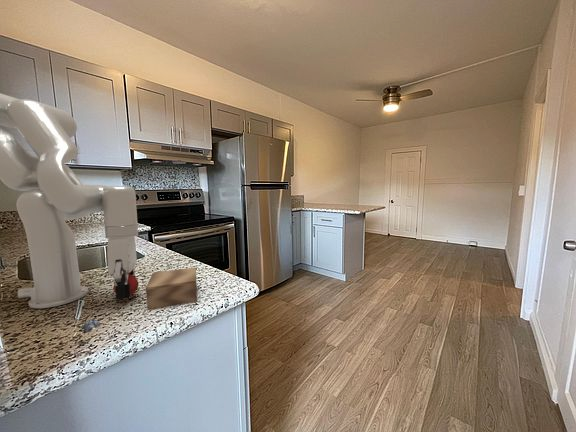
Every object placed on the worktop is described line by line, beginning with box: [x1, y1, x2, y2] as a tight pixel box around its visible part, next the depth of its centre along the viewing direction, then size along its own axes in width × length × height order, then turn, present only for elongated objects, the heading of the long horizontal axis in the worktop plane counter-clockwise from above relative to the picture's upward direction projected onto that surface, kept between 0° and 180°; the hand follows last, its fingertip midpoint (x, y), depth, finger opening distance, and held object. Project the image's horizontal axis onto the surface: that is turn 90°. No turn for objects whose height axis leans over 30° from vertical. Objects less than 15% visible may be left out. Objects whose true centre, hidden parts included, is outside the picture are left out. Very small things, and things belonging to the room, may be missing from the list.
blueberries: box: [71, 319, 101, 334], centre depth 56 cm, size 7×8×2 cm
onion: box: [113, 271, 139, 296], centre depth 69 cm, size 6×6×8 cm
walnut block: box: [145, 266, 198, 311], centre depth 71 cm, size 12×12×6 cm
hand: (126, 292), depth 70 cm, fingers closed on onion, 5 cm apart
